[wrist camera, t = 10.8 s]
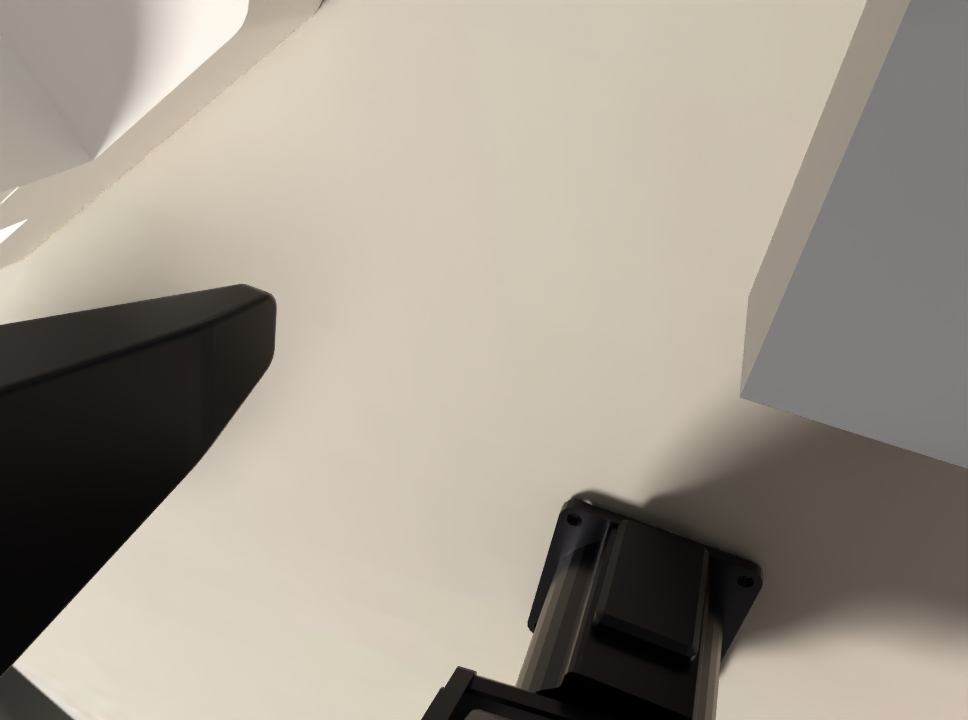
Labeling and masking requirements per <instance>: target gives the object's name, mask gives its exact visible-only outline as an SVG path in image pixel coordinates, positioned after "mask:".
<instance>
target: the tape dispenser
mask: <svg viewBox="0 0 968 720" xmlns="http://www.w3.org/2000/svg"><path fill="white" fill-rule="evenodd" d="M321 2H322V0H0V270H1V269H3V268H5V267H8V266H10V265H12V264H14V263H16V262H19V261H21V260H23V259H24V258H25V257H27V256H28V255H29V254H30V253H31V252H33V251H34V250H35V249H36V248H37V247H39V246H40V245H41V244H42V243H43V242H44V241H46V240H47V239H48V238H49V237H50V236H52V235H53V234H54V233H55V232H56V231H58V230H59V229H60V228H61V227H62V226H64V225H65V224H66V223H67V222H68V221H69V220H71V219H72V218H73V217H74V216H75V215H77V214H78V213H79V212H80V211H81V210H83V209H84V208H85V207H86V206H87V205H89V204H90V203H91V202H92V201H93V200H94V199H96V198H97V197H98V196H99V195H100V194H102V193H103V192H104V191H105V190H106V189H108V188H109V187H110V186H111V185H112V184H114V183H115V182H116V181H117V180H118V179H120V178H121V177H122V176H123V175H124V174H125V173H127V172H128V171H129V170H130V169H131V168H133V167H134V166H135V165H136V164H137V163H139V162H140V161H141V160H142V159H143V158H145V157H146V156H147V155H148V154H149V153H150V152H152V151H153V150H154V149H155V148H156V147H158V146H159V145H160V144H161V143H162V142H164V141H165V140H166V139H167V138H168V137H170V136H171V135H172V134H173V133H174V132H175V131H177V130H178V129H179V128H180V127H181V126H183V125H184V124H185V123H186V122H187V121H189V120H190V119H191V118H192V117H193V116H195V115H196V114H197V113H198V112H199V111H200V110H202V109H203V108H204V107H205V106H206V105H208V104H209V103H210V102H211V101H212V100H214V99H215V98H216V97H217V96H218V95H220V94H221V93H222V92H223V91H224V90H225V89H227V88H228V87H229V86H230V85H231V84H233V83H234V82H235V81H236V80H237V79H239V78H240V77H241V76H242V75H243V74H245V73H246V72H247V71H248V70H249V69H250V68H252V67H253V66H254V65H255V64H256V63H258V62H259V61H260V60H261V59H262V58H264V57H265V56H266V55H267V54H268V53H270V52H271V51H272V50H273V49H274V48H275V47H277V46H278V45H279V44H280V43H281V42H283V41H284V40H285V39H286V38H287V37H289V36H290V35H291V34H292V33H293V32H295V31H296V30H297V29H298V28H299V27H300V26H302V25H303V24H304V23H305V22H306V21H308V20H309V19H310V18H311V17H312V16H313V15H314V14H315V12H316V11H317V10H318V9H319V6H320V4H321Z"/></svg>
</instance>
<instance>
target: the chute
mask: <svg viewBox="0 0 968 720" xmlns="http://www.w3.org/2000/svg"><path fill="white" fill-rule="evenodd" d="M740 398H743V399H747V400H750V401H753V402H756V403H759V404H763V405H766V406H769V407H772V408H775V409H778V410H782V411H785V412H788V413H791V414H794V415H798V416H801V417H804V418H807V419H810V420H814V421H817V422H820V423H823V424H826V425H830V426H833V427H836V428H839V429H842V430H845V431H849V432H852V433H855V434H858V435H861V436H865V437H868V438H871V439H874V440H877V441H881V442H884V443H887V444H890V445H893V446H897V447H900V448H903V449H906V450H909V451H912V452H916V453H919V454H922V455H925V456H928V457H932V458H935V459H938V460H941V461H944V462H948V463H951V464H954V465H957V466H960V467H964V468H967V469H968V0H867V3H866V5H865V8H864V10H863V13H862V15H861V18H860V20H859V23H858V25H857V28H856V30H855V33H854V35H853V38H852V40H851V43H850V45H849V48H848V50H847V53H846V55H845V58H844V60H843V63H842V65H841V68H840V70H839V73H838V75H837V78H836V80H835V83H834V85H833V88H832V90H831V93H830V95H829V98H828V100H827V102H826V105H825V107H824V110H823V112H822V115H821V117H820V120H819V122H818V125H817V127H816V130H815V132H814V135H813V137H812V140H811V142H810V145H809V147H808V150H807V152H806V155H805V157H804V160H803V162H802V165H801V167H800V170H799V172H798V175H797V177H796V180H795V182H794V185H793V187H792V190H791V192H790V195H789V197H788V200H787V202H786V205H785V207H784V210H783V212H782V215H781V217H780V220H779V222H778V225H777V227H776V230H775V232H774V235H773V237H772V240H771V242H770V245H769V247H768V250H767V252H766V255H765V257H764V260H763V262H762V265H761V267H760V269H759V272H758V274H757V277H756V279H755V282H754V284H753V287H752V289H751V292H750V294H749V298H748V309H747V320H746V332H745V343H744V354H743V366H742V377H741V388H740Z"/></svg>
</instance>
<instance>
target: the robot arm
mask: <svg viewBox="0 0 968 720" xmlns="http://www.w3.org/2000/svg"><path fill="white" fill-rule="evenodd" d="M276 312H277V305H276V300H275V298H274V297H273V295H272V294H270V293H268V292H265V291H263V290H260V289H257V288H255V287H252V286H249V285H246V284H238V285H232V286H226V287H220V288H214V289H209V290H203V291H197V292H191V293H185V294H179V295H173V296H168V297H162V298H156V299H150V300H144V301H138V302H132V303H127V304H121V305H115V306H109V307H103V308H97V309H92V310H86V311H80V312H74V313H68V314H62V315H56V316H51V317H45V318H39V319H33V320H27V321H21V322H15V323H10V324H4V325H0V678H1V677H2V675H3V674H4V673H5V672H6V671H7V670H8V669H9V668H10V667H11V666H12V665H13V664H14V662H15V661H16V660H17V659H18V658H19V657H20V656H21V655H22V654H23V653H24V652H25V650H26V649H27V648H28V647H29V646H30V645H31V644H32V643H33V642H34V641H35V640H36V639H37V637H38V636H39V635H40V634H41V633H42V632H43V631H44V630H45V629H46V628H47V627H48V626H49V624H50V623H51V622H52V621H53V620H54V619H55V618H56V617H57V616H58V615H59V614H60V612H61V611H62V610H63V609H64V608H65V607H66V606H67V605H68V604H69V603H70V602H71V601H72V599H73V598H74V597H75V596H76V595H77V594H78V593H79V592H80V591H81V590H82V589H83V587H84V586H85V585H86V584H87V583H88V582H89V581H90V580H91V579H92V578H93V577H94V576H95V574H96V573H97V572H98V571H99V570H100V569H101V568H102V567H103V566H104V565H105V564H106V562H107V561H108V560H109V559H110V558H111V557H112V556H113V555H114V554H115V553H116V552H117V551H118V549H119V548H120V547H121V546H122V545H123V544H124V543H125V542H126V541H127V540H128V539H129V538H130V536H131V535H132V534H133V533H134V532H135V531H136V530H137V529H138V528H139V527H140V526H141V524H142V523H143V522H144V521H145V520H146V519H147V518H148V517H149V516H150V515H151V514H152V513H153V511H154V510H155V509H156V508H157V507H158V506H159V505H160V504H161V503H162V502H163V501H164V499H165V498H166V497H167V496H168V495H169V494H170V493H171V492H172V491H173V490H174V489H175V488H176V486H177V485H178V484H179V483H180V482H181V481H182V480H183V479H184V478H185V477H186V476H187V474H188V473H189V472H190V471H191V470H192V469H193V468H194V467H195V465H196V464H197V463H198V462H199V461H200V460H201V459H202V457H203V456H204V455H205V454H206V452H207V451H208V450H209V449H210V447H211V446H212V445H213V443H214V442H215V441H216V439H217V438H218V437H219V435H220V434H221V432H222V431H223V430H224V428H225V427H226V426H227V424H228V423H229V421H230V420H231V419H232V417H233V416H234V415H235V413H236V412H237V410H238V409H239V408H240V406H241V405H242V404H243V402H244V401H245V400H246V398H247V397H248V395H249V394H250V393H251V391H252V390H253V389H254V387H255V386H256V384H257V383H258V382H259V380H260V379H261V378H262V376H263V375H264V373H265V372H266V371H267V369H268V368H269V366H270V364H271V361H272V359H273V355H274V350H275V332H276ZM571 514H576V515H578V516H580V518H575V517H573V516H572V515H571ZM741 575H747V576H750V577H751V578H743V577H741ZM762 584H763V572H762V569H761V568H760V567H759V566H758V565H757V564H756V563H754V562H752V561H749V560H746V559H744V558H741V557H738V556H735V555H732V554H729V553H727V552H724V551H721V550H718V549H715V548H712V547H710V546H707V545H704V544H701V543H698V542H695V541H693V540H690V539H687V538H684V537H681V536H679V535H676V534H673V533H670V532H667V531H664V530H662V529H659V528H656V527H653V526H650V525H647V524H645V523H642V522H639V521H636V520H633V519H630V518H628V517H625V516H622V515H619V514H616V513H613V512H611V511H608V510H605V509H602V508H599V507H596V506H594V505H591V504H588V503H585V502H582V501H579V500H569V501H567V502H565V503H564V505H563V506H562V509H561V511H560V514H559V517H558V521H557V524H556V528H555V531H554V534H553V538H552V541H551V545H550V548H549V551H548V555H547V558H546V561H545V565H544V568H543V572H542V575H541V578H540V582H539V585H538V589H537V592H536V595H535V599H534V602H533V605H532V609H531V612H530V616H529V619H528V628H529V630H530V631H531V632H532V633H534V634H533V637H532V640H531V643H530V646H529V648H528V651H527V654H526V657H525V660H524V663H523V666H522V669H521V672H520V674H519V677H518V680H517V683H516V686H511V685H508V684H505V683H501V682H498V681H495V680H492V679H488V678H485V677H482V676H478V675H477V672H476V671H473V670H470V669H467V668H463V667H460V666H458V667H457V668H456V670H455V672H454V673H453V675H452V676H451V678H450V680H449V681H448V683H447V685H446V686H445V688H444V687H442V688H441V689H440V690H439V692H438V693H437V695H436V697H435V698H434V700H433V701H432V703H431V705H430V706H429V708H428V710H427V711H426V713H425V714H424V716H423V718H422V719H421V720H716V708H717V695H718V683H719V671H720V663H721V661H722V659H723V657H724V656H725V654H726V652H727V650H728V648H729V646H730V645H731V643H732V641H733V639H734V637H735V635H736V634H737V632H738V630H739V628H740V626H741V624H742V623H743V621H744V619H745V617H746V615H747V613H748V612H749V610H750V608H751V606H752V604H753V602H754V600H755V599H756V597H757V595H758V593H759V591H760V589H761V588H762Z"/></svg>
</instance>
